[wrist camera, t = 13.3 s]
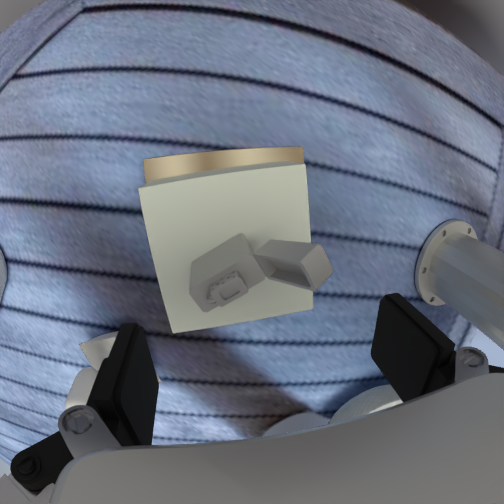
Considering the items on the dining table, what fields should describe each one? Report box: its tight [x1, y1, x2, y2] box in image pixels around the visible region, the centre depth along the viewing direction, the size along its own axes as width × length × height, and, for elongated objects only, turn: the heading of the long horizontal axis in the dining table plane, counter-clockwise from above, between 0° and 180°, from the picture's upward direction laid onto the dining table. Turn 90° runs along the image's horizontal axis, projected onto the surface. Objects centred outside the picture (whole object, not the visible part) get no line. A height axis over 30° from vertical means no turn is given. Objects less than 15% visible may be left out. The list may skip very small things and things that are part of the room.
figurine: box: [65, 331, 161, 409], centre depth 26 cm, size 7×9×15 cm
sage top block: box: [138, 161, 313, 333], centre depth 23 cm, size 11×11×5 cm
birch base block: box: [143, 147, 304, 183], centre depth 28 cm, size 13×13×5 cm
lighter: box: [189, 233, 334, 312], centre depth 17 cm, size 7×2×8 cm, turn 119°
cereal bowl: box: [328, 384, 403, 424], centre depth 40 cm, size 17×17×7 cm
